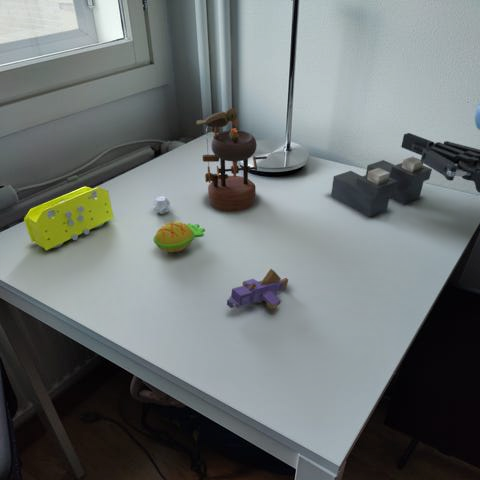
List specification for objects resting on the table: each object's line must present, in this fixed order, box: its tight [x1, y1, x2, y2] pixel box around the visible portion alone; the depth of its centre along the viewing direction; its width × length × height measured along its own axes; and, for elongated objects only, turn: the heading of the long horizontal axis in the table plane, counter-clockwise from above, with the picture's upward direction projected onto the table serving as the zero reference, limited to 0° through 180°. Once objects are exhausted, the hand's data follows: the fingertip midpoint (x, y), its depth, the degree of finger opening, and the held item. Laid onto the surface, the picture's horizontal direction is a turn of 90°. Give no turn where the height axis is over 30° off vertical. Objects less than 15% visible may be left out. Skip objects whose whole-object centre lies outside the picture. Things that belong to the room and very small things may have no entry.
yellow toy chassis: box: [23, 186, 115, 251], centre depth 90 cm, size 16×6×8 cm, turn 140°
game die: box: [152, 195, 171, 215], centre depth 99 cm, size 4×4×3 cm
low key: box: [402, 156, 424, 173], centre depth 99 cm, size 3×3×2 cm
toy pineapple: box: [152, 221, 206, 253], centre depth 87 cm, size 7×10×5 cm
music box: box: [195, 107, 268, 212], centre depth 98 cm, size 15×11×20 cm
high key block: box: [330, 170, 398, 218], centre depth 99 cm, size 13×6×7 cm, turn 34°
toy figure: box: [226, 268, 289, 311], centre depth 75 cm, size 12×8×5 cm
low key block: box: [365, 159, 433, 205], centre depth 104 cm, size 13×6×7 cm, turn 34°
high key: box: [367, 168, 390, 185], centre depth 94 cm, size 3×3×2 cm
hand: (405, 140), depth 98 cm, fingers closed
